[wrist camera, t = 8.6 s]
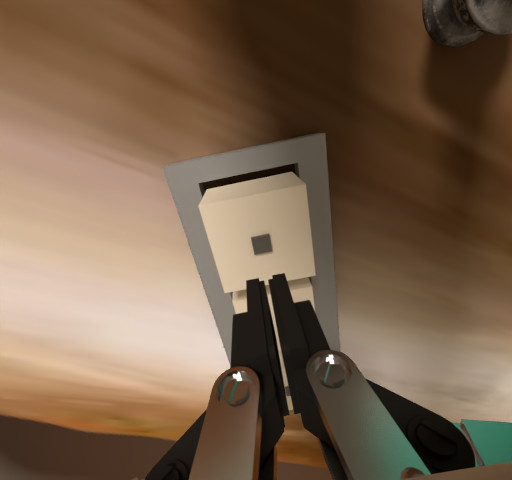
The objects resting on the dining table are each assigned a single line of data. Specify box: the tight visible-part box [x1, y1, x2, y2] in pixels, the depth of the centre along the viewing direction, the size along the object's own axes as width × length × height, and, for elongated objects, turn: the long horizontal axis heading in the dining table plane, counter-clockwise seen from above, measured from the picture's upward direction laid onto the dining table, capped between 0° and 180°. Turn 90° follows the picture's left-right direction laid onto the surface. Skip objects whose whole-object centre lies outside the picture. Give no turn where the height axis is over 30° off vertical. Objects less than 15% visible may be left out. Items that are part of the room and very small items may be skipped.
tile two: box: [232, 277, 315, 352], centre depth 21 cm, size 6×6×4 cm
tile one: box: [198, 172, 316, 293], centre depth 17 cm, size 6×6×4 cm
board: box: [163, 133, 340, 365], centre depth 23 cm, size 11×26×2 cm, turn 11°
